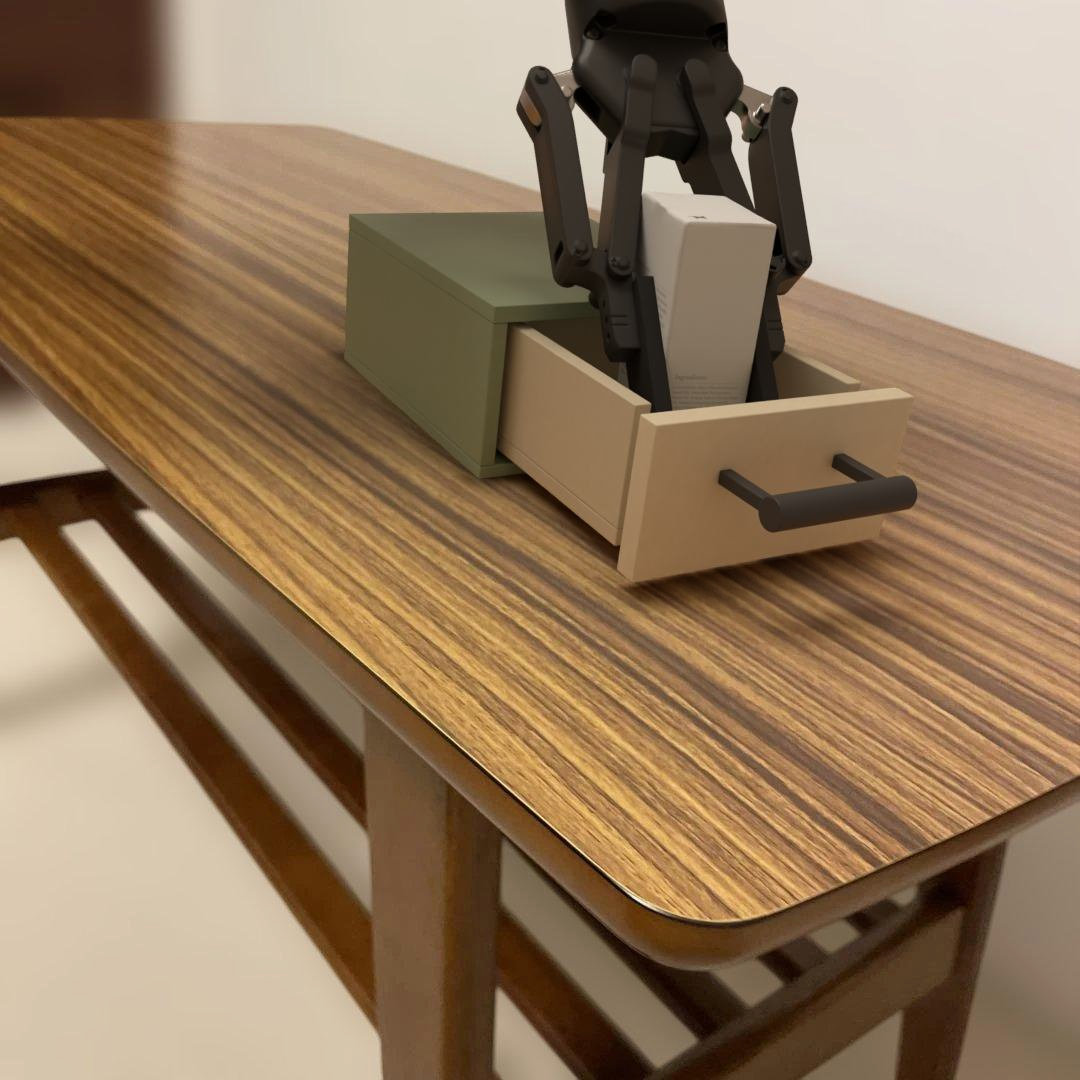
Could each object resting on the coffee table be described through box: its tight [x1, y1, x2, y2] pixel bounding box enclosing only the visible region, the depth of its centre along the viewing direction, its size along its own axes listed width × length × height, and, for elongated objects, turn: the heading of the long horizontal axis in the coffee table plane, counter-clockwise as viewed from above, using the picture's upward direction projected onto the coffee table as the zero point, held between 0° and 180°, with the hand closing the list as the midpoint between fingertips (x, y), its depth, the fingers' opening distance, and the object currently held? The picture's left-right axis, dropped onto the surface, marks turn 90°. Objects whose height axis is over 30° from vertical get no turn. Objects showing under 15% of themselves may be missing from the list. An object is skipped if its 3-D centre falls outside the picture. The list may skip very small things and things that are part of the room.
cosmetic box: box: [617, 191, 776, 411], centre depth 55 cm, size 6×4×12 cm
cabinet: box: [343, 211, 600, 480], centre depth 67 cm, size 18×15×9 cm
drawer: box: [496, 317, 918, 584], centre depth 56 cm, size 21×13×7 cm, turn 29°
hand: (708, 427), depth 53 cm, fingers closed on cosmetic box, 4 cm apart
